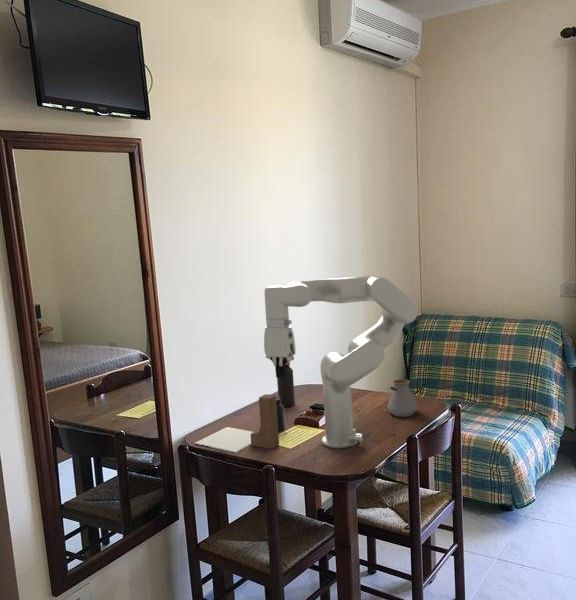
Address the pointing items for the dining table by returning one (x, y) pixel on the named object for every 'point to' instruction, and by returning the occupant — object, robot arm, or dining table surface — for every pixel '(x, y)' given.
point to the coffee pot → (401, 399)
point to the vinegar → (286, 387)
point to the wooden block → (267, 424)
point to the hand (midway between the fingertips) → (280, 376)
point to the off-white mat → (228, 440)
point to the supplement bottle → (280, 414)
